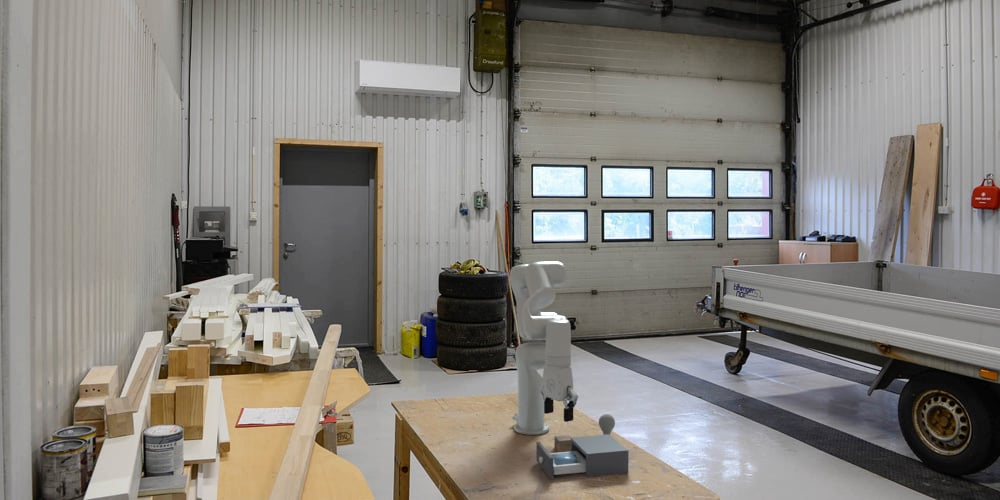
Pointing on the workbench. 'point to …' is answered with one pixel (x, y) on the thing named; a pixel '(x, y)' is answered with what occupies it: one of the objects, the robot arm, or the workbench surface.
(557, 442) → the brown block
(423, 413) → the workbench surface
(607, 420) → the light bulb
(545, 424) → the robot arm
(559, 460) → the pale blue dome cap
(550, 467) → the grey drawer
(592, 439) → the box
